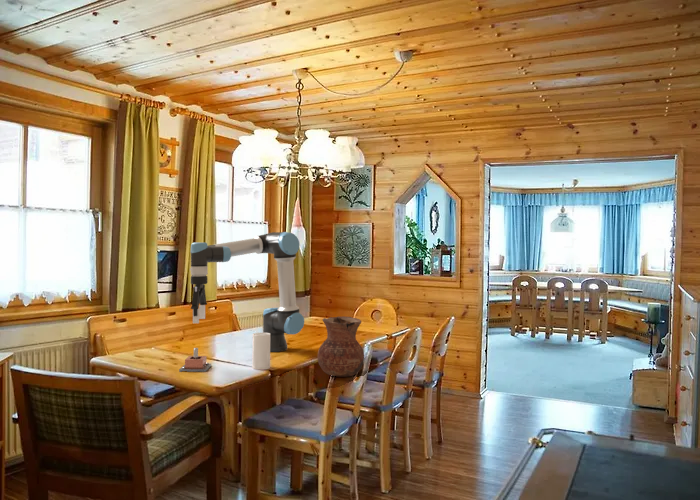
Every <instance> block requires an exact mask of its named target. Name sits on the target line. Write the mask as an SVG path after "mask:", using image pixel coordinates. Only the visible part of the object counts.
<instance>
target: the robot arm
mask: <svg viewBox="0 0 700 500" xmlns="http://www.w3.org/2000/svg"><path fill="white" fill-rule="evenodd" d="M300 246H301V245H300V240H299V237H298V236H296V234H294V233H293V232H290V231H289V232H288V231H283V232H282V231H281V232H280V231H279V232H276V231H273V232H267V233H265V234H261V235H255V236H253V238H248V239H241V240H235V241H229V242H222V243H215V244H211V245H209V244H208V242H192V243H191V245H190V268H189V271H190V275H191V276H190V284H191V285H194V286H193V288H192V289H193V290H192V298H191V307H190V309H191V310H192V324H199V323H200V320H206V305H208V302H207V297H206V285H207V284H208V276H207V275H208V271H209V270H208V267H209V265H208V263H228V262H229V261H230V260H231V258H232V257H238V256H242V255H247V254H249V255H250V254H254V253H255V254H258V255H259V254H260V255H261V254H272V255H273V259H274V260H275V261H276V266H277V268H276V269H277V279H278V280H277V282H278V297H279V298H278V299H279V307H268V308H264V310H263V313H262V333H270V353H275V352H277V353H279V352H284V351H287V350H288V343H287V339H286V336H285V334H286V335H297V334H299V333H300V332H301V331H302V329H303V328H304V325H305V317H304V315H302V313H300V307H299V305H297V295H296V282H295V267H294V260H295V259H296V258H297V253H298V252H299V250H300Z"/></svg>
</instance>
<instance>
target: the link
mask: <svg viewBox="0 0 700 500" xmlns="http://www.w3.org/2000/svg"><path fill="white" fill-rule="evenodd" d="M206 363H207V355H198V359H194V355H189V356H188V357H187V358H185V359H184V365H185V368H204V366H205V365H206Z"/></svg>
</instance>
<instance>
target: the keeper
mask: <svg viewBox="0 0 700 500" xmlns="http://www.w3.org/2000/svg"><path fill="white" fill-rule="evenodd" d="M193 356H194V359H198V356H199V347H193ZM211 367H212V363H209V362H206V365H205V366H204V368H185V364H184V365H182V366H181V367H180V368H179V369H178V370H179V373H180V372H181V373H182V371H187V372H189V373H191V372H193V373H196V372H197V373H200V372H203V373H204V372H207V371H208V370H209V369H210V368H211ZM187 372H186V373H187Z"/></svg>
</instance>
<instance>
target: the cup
mask: <svg viewBox="0 0 700 500" xmlns="http://www.w3.org/2000/svg"><path fill="white" fill-rule="evenodd" d="M251 364H252V365H251V368H252V369H253V370H257V371H260V370H269V369H270V368H271V352H270V333H263V332H255V333H252V363H251Z"/></svg>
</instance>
